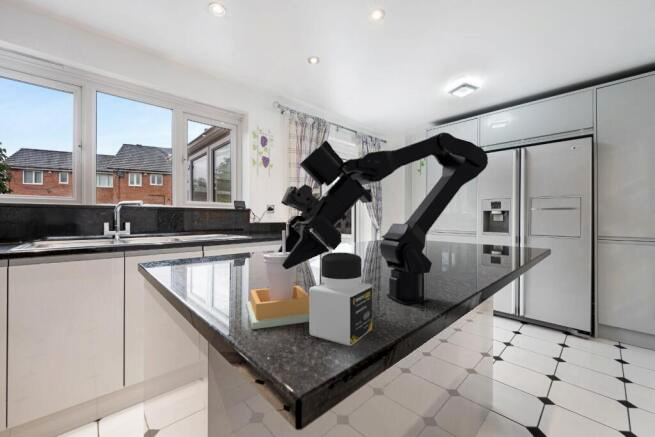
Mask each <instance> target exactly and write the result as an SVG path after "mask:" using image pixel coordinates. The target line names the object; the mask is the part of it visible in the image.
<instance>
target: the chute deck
mask: <svg viewBox="0 0 655 437" xmlns="http://www.w3.org/2000/svg"><path fill="white" fill-rule="evenodd" d="M249 292H250V295H249V297H250V299H249V300H247V301H245V308H246V311H247V312H246V313H247V314H248V318H249V323H250V326H251V329H252V330H257V329H264V328H272V327H279V326H280V327H281V326H287V325H293V324H302V323H309V293H308V292H307V291H305V289H303V288H302V287H301V285H294V287H293V296H292V299H287V300H278V301H270V298H269V290H268V288H267V287H266V288H258V289H257V288H255V289H249Z"/></svg>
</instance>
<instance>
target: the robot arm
mask: <svg viewBox="0 0 655 437" xmlns="http://www.w3.org/2000/svg"><path fill="white" fill-rule="evenodd" d="M431 156H433V157H434V158H435V159H436V162H438V164H439V165H440V166H441V167H442V170H441V171H442V172H441V177H440V178H439V180H438V181H437V182H436V183H435V184H434V186H433V187H432V189H430V191H429V192H428V193H427V195H426V196H425V197H424V199H423V200H422V201H421V202H420V204H419V205H418V206H417V208H416V209H415V210H414V211H413V213H412V214H411V216H410V217H409V218H408V219H407V220H406V221H405V222H404V223H392V224H391V225H390V227H389V229H388V230H387V232H386V233H385V234H384V235H382V236H381V238H382V240H381V242H380V244H379V248H380V249H379V250H380V255H381V256H382V258H384V260H385V262H386V266H387V268H392V269H390V276H389V277H388V278H389V279H388V283H389V284H388V288H389V289H388V290H389V291H388V292H389V293H386V297H387V298H390V299H392V300H394V301H396V302H399V303H400V304H403V305H409V304H415V303H425V302H430V298H429V297H427V296H425V274H428V273H430V272H431V269H432V268H431V267H432V266H433V264H432V261H431V260H430V259H429V258H428V257H427V256H426V255H425V254H424V253H423V252H424V251H423V250H424V248H426V240H427V233H428V232H429V231H430V229H431V228H432V227H433V225H434V224H435V223H436V221H437V220H438V219H439V218H440V216H441V214H443V212H444V211H445V210H446V208H447V207H448V205H449V204H450V203H451V202H452V200H453V199H454V198H455V196H456V195H457V193H458V192H460V189H461V188H462V187H463V186H464V185H466V184H467V183H469V182H471V181H472V180H474V179H476V178H477V177H478V176H479V175H480V174H481V173H482V172H483V171H484V170H485V169H486V168H487V167H488V165H489V161H488V159H489V158H488V154H487V152H486V151H485V150H484V149H483V148H482V147H481V146H478V145H477V144H475V143H473V142H472V141H469V140H465V139H461V138H458V137H455V136H453V135H452V134H451V133H449V132H439V133H437V134H435V135H432V136H430V137H428V138H426V139H423V140H420V141H418V142H415V143H411V144H409V145H406V146H402V147H401V148H398V149H393V150H378V151H373V152H372V151H371V152H368V153H366V154H364V155H362V156H360V157H357V158H350V159H347V160H343V159H342V158H341V156H340V155H339V154H338V153H337V152H336V150H334V149H333V147H332V145H331V143H330V142H328V140H324V141H323V142H322V143H321V144H320V145H319V146H318V147H316V148H315V149H314V150H312V151H311V152H310V153H309V154H308V155H307V156H306V157H304V158H303V160H302V161H301V162H300V163H299V164H298V165H299V166H300V167H301V168H302V169H303V171H304V172H306V174H307V175H309V177H311V179H312V180H313V181H314V182H315V183H316V184H317V185H318V186H323V185H325V186H326V187H329V186H330V185H331V184H332V183H334V184H332V185H331V186H330V187H329V189H328V190H326V192H324V194H323V195H322V196H317V197H315V195H314V194H313V187H311V186H310V185H308V184H306V183H304V184H302V185H300V187H299V188H297V186H289V187H287V189H286V191H285V192H284V195H283V198H282V200H281V202H280V203H281V204H282V205H284V206H287V207H288V206H289V207H291V208H292V209H295V210H297V211H299V212H300V215H292V216H291V217H290V218H289V219H288V220H287V221H286V222H287V223H286V228H287V229H286V230H287V231H286V232H287V235H285V252H290V254H289V255H288V257H287V258H286V260H285V261H284V263H283V264H282V266H283V267H284V268H285V269H289V268H291V267H294V266H296V267H297V266H298V265H300V264H302V263H304V262H307V261H309V260H310V259H313V258H316V257H318V256H321V255H323V254H325V253H330V250H333V251H335V250H336V249H337V248H338V247H339V245H340V244H341V243H342V233H341V232H340V231H339V230H338V229H337V228H336V226H337V225H338V223H339V222H340V221H341V222H344V221H345V220H346V219H347V218H348V216H347V214H348V213H349V211H350V210H351V209H352V208H353V207H354V206H355V205H356V204H357V203H358V202H359V201H360V202H361V203H362V204H366V203H367V204H368V203H372V202H373V197H372V189H371V188H365V187H364V186H366V185H368V184H369V185H370V184H373V183H377V182H380V181H382V180H384V179H386V178H387V177H388V176H390V175H392V174H393V173H394V172H395V171H396V170H398V169H400V168H401V167H403V166H406V165H409V164H413V163H415V162H417V161H419V160H422V159H425V158H428V157H431ZM336 180H337V181H336ZM335 181H336V182H335ZM277 252H282V244H281V245H280V247H279V249H278V250H277Z"/></svg>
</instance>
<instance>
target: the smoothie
mask: <svg viewBox="0 0 655 437" xmlns="http://www.w3.org/2000/svg"><path fill="white" fill-rule="evenodd" d="M281 232H282V233H281V234H282V238H281V240H282V243H281V245H282V252H278V251H277V252H276V251H275V252H268V253H264V254H263V255H262V258H263V259H262V260H263V261H262V262H264V264H265V265H264V266H265V273H266V280H267V281H266V282H267V287H268V290H269V298H270V301H278V300H287V299H292V296H293V287H294V286H295V277H296V269H297V268H296V267H297V265H296V266H294V267H291V268H289V269H285V268H284V267H283V266H282V264H283V263H284V261H285V260H286V258H287V257H288V255H289V254H290V252H285V238H286V230H282V231H281Z"/></svg>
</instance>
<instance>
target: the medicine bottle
mask: <svg viewBox="0 0 655 437" xmlns="http://www.w3.org/2000/svg"><path fill="white" fill-rule="evenodd" d="M362 278H363V277H362V258H361V256H360V255H359V254H357V253H353V252H340V251H339V252H328V253H327V254H325V255H323V256H322V257H321V281H322V282H321V283H319V284H316V285H314V286H311V287H309V293H308V294H309V322H308V324H309V327H308V328H309V329H308V330H309V335H310V336H312V337H316V338H319V339H323V340H326V341H330V342H334V343H337V344H341V345H343V346H347V347H351V346H353V345H355V343H357V342H358V341H359V340H361V338H363V337H364V336H365V335H367V334H368V333H369V332H370V331H372V329H373V285H372V284H371V283H364V282H362Z"/></svg>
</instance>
